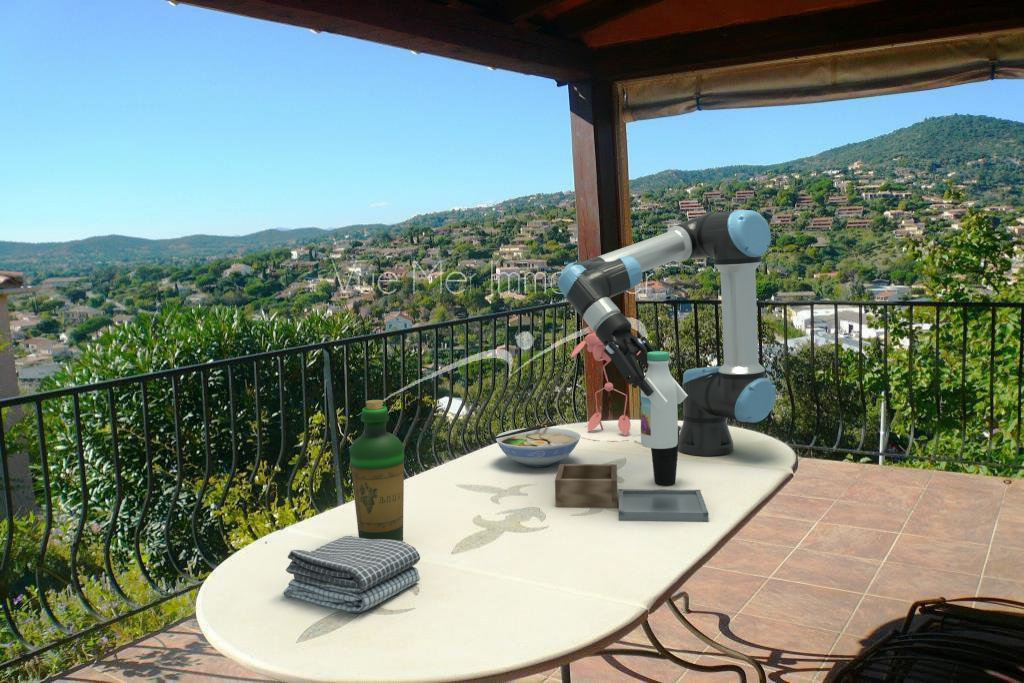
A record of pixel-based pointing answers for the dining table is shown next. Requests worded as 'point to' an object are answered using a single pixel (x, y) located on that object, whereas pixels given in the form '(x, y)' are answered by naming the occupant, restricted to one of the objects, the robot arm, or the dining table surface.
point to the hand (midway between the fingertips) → (673, 402)
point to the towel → (352, 573)
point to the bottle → (378, 476)
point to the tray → (661, 505)
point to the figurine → (598, 351)
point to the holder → (586, 485)
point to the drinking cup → (665, 464)
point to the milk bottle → (662, 423)
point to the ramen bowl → (538, 444)
